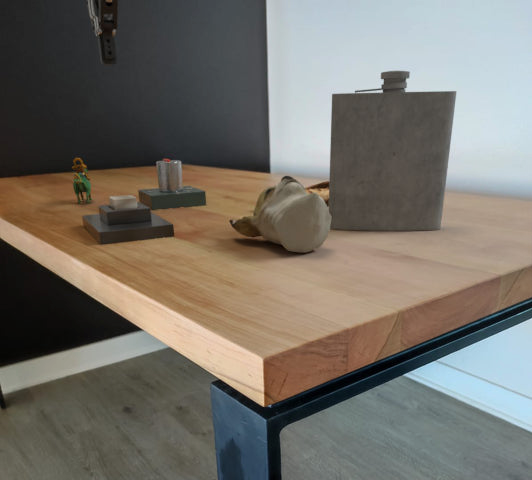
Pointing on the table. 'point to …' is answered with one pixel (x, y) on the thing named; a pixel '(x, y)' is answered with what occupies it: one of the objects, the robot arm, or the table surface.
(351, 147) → the hip flask
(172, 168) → the silver cylinder cluster
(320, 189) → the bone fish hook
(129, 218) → the dark grey stepped block
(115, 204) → the cream rectangular block
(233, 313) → the table surface
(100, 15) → the robot arm
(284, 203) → the ceramic sculpture
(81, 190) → the figurine
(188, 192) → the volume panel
